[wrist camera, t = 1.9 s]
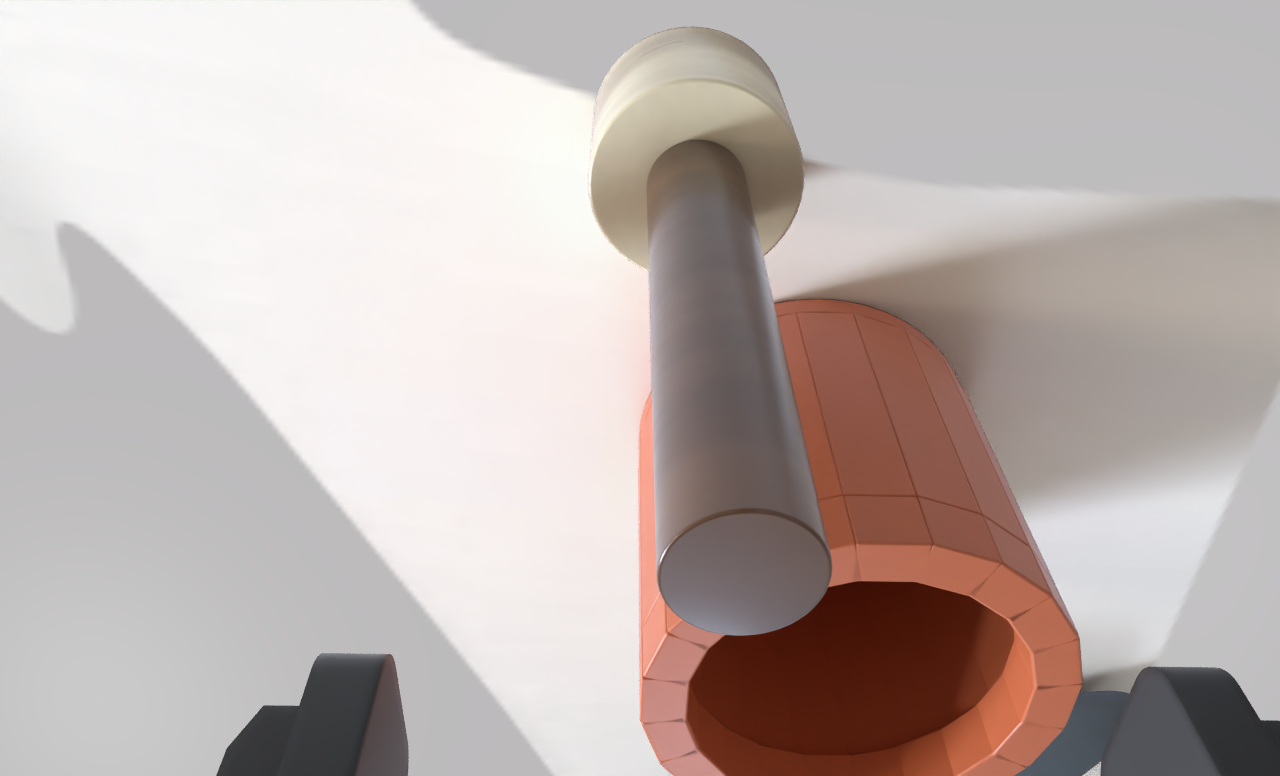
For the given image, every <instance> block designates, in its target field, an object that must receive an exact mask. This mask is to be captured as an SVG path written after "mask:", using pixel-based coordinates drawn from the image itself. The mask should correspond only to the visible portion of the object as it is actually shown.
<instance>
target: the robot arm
mask: <svg viewBox="0 0 1280 776" xmlns="http://www.w3.org/2000/svg"><path fill="white" fill-rule="evenodd" d="M217 776H408V741H407V734H406V728H405V722H404V716H403V709H402V703H401V697H400V691H399V684H398V678H397V672H396V666H395V661H394V658H393V656H392V655H391V654H338V653H337V654H334V653H322V654H320V655H319V656H318V657H317V658H316V660H315V662H314V664H313V666H312V669H311V672H310V675H309V678H308V681H307V684H306V687H305V690H304V693H303V697H302V699H301V703H300V705H299V706H263V707H262V708H261V709H260V710H259V712H258V713H257V714H256V715H255V716H254V718H253V719H252V720H251V721H250V722H249V723H248V724H247V726H246V727H245V728H244V729H243V730H242V731H241V733H240V734H239V735H238V736H237V737H236V738H235V739H234V741H233V742H232V743H231V744H230V745H229V746H228V748H227V750H226V752H225V755H224V757H223V760H222V763H221V765H220V768H219V771H218V773H217ZM1101 776H1280V721H1261V720H1260V719H1259V717H1258V715H1257V714H1256V712H1255V710H1254V709H1253V707H1252V706H1251V704H1250V702H1249V701H1248V699H1247V697H1246V696H1245V695H1244V693H1243V691H1242V689H1241V688H1240V686H1239V685H1238V683H1237V682H1236V680H1235V679H1234V678H1233V677H1232V676H1231V675H1230V674H1229V673H1228V672H1226V671H1225V670H1223V669H1220V668H1202V667H1199V668H1198V667H1147V668H1145V669H1143V670H1142V671H1141V672H1140V673H1139V675H1138V677H1137V678H1136V681H1135V683H1134V685H1133V687H1132V690H1131V692H1130V694H1129V696H1128V699H1127V701H1126V703H1125V705H1124V707H1123V710H1122V712H1121V714H1120V716H1119V719H1118V721H1117V723H1116V725H1115V728H1114V730H1113V732H1112V734H1111V737H1110V739H1109V741H1108V743H1107V745H1106V748H1105V750H1104V753H1103V756H1102V761H1101Z"/></svg>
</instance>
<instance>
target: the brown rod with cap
mask: <svg viewBox="0 0 1280 776" xmlns="http://www.w3.org/2000/svg"><path fill="white" fill-rule="evenodd" d="M803 188H804V164H803V157H802V153H801V149H800V146H799V143H798V140H797V137H796V134H795V132H794V129H793V126H792V123H791V121H790V118H789V115H788V112H787V109H786V107H785V104H784V101H783V98H782V96H781V93H780V90H779V87H778V85H777V82H776V80H775V78H774V76H773V74H772V72H771V70H770V69H769V67H768V66H767V64H766V63H765V62H764V60H763V59H762V58H761V57H760V56H759V55H758V54H757V53H756V52H755V51H754V50H753V49H752V48H750V47H749V46H748V45H746V44H745V43H744V42H742V41H741V40H739V39H737V38H735V37H733V36H731V35H729V34H726V33H724V32H721V31H718V30H713V29H709V28H702V27H679V28H674V29H668V30H665V31H662V32H658V33H655V34H653V35H651V36H649V37H647V38H645V39H643V40H641V41H640V42H638V43H637V44H635V45H633V46H632V47H631V48H630V49H629V50H627V51H626V52H625V53H624V54H623V55H622V56H621V57H620V58H619V59H618V60H617V61H616V62H615V63H614V65H613V66H612V68H611V69H610V70H609V72H608V73H607V75H606V77H605V79H604V81H603V82H602V84H601V87H600V90H599V92H598V95H597V99H596V103H595V108H594V118H593V128H592V139H591V150H590V161H589V172H588V192H589V199H590V204H591V208H592V211H593V214H594V216H595V219H596V222H597V223H598V225H599V227H600V229H601V231H602V233H603V234H604V235H605V237H606V238H607V240H608V241H609V242H610V243H611V245H612V246H613V247H614V248H615V249H616V250H617V251H618V252H619V253H620V254H622V255H623V256H624V257H625V258H627V259H628V260H629V261H631V262H632V263H634V264H635V265H637V266H639V267H640V268H642V269H645V270H647V271H649V304H650V343H651V383H652V422H653V462H654V501H655V541H656V577H657V585H658V589H659V591H660V594H661V596H662V598H663V599H664V601H665V603H666V604H667V606H668V607H669V608H670V609H671V610H672V611H673V612H674V613H675V614H676V615H677V616H678V617H679V618H681V619H682V620H684V621H685V622H687V623H689V624H691V625H693V626H695V627H697V628H699V629H702V630H705V631H708V632H712V633H716V634H723V635H733V636H746V635H756V634H762V633H767V632H771V631H774V630H777V629H780V628H783V627H785V626H788V625H790V624H792V623H794V622H795V621H797V620H799V619H800V618H802V617H803V616H805V615H806V614H808V613H809V612H810V611H811V610H812V609H813V608H814V607H815V606H816V605H817V604H818V603H819V602H820V600H821V599H822V597H823V596H824V594H825V593H826V590H827V588H828V586H829V584H830V580H831V576H832V558H831V553H830V549H829V544H828V540H827V536H826V531H825V527H824V522H823V518H822V513H821V509H820V505H819V500H818V496H817V491H816V487H815V482H814V478H813V474H812V469H811V465H810V460H809V456H808V451H807V447H806V443H805V438H804V434H803V429H802V425H801V420H800V416H799V412H798V407H797V403H796V398H795V394H794V390H793V385H792V381H791V376H790V372H789V367H788V363H787V359H786V354H785V350H784V345H783V341H782V336H781V332H780V328H779V323H778V319H777V314H776V310H775V305H774V301H773V297H772V292H771V288H770V283H769V279H768V274H767V270H766V266H765V261H764V257H763V256H764V255H766V254H767V253H768V252H769V251H770V250H771V249H772V248H773V247H774V246H775V245H776V244H777V243H778V242H779V241H780V239H781V238H782V237H783V236H784V234H785V233H786V231H787V230H788V228H789V227H790V225H791V224H792V222H793V220H794V218H795V216H796V214H797V211H798V208H799V205H800V202H801V198H802V193H803Z"/></svg>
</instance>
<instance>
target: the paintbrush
mask: <svg viewBox="0 0 1280 776" xmlns="http://www.w3.org/2000/svg"><path fill="white" fill-rule="evenodd" d="M1128 696H1129V693H1124V692H1117V691H1096V692H1084V693H1079V695H1078V697H1077V700H1076V702H1075V705H1074V707H1073V710H1072V712H1071V714H1070V717H1069V719H1068V722H1067V724H1066V726H1065V727H1064V729H1063V731H1062V732H1061V733H1060V734H1059V735H1058V736H1057V737H1056V738H1055V739H1054V740H1053V741H1052V742H1051V743H1050V745H1049V746H1048V747H1047V748H1046V749H1045V750H1044V751H1043V752H1042V753H1041V754H1040V755H1039V756H1038V758H1037V759H1036V760H1035V761H1034V762H1033V763H1032V764H1031V765H1030V766H1027V767H1026V768H1025V769H1024V770H1022V771H1021V772H1019V773H1018V774H1016V775H1014V776H1082V775H1083V774H1085V773H1086V772H1087V771H1089V770H1090V769H1091V768H1093V767H1094V766H1095V765H1097V764H1098V763H1099V762H1100V761H1102V756H1103V753H1104V750H1105V748H1106V745H1107V743H1108V741H1109V739H1110V737H1111V734H1112V732H1113V730H1114V728H1115V725H1116V723H1117V721H1118V719H1119V716H1120V714H1121V712H1122V710H1123V707H1124V705H1125V703H1126V701H1127V699H1128Z"/></svg>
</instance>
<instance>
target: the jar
mask: <svg viewBox="0 0 1280 776" xmlns="http://www.w3.org/2000/svg"><path fill="white" fill-rule="evenodd" d="M774 305H775V310H776V314H777V319H778V323H779V328H780V332H781V336H782V341H783V345H784V350H785V354H786V359H787V363H788V367H789V372H790V376H791V381H792V385H793V390H794V394H795V398H796V403H797V407H798V412H799V416H800V420H801V425H802V429H803V434H804V438H805V443H806V447H807V451H808V456H809V460H810V465H811V469H812V474H813V478H814V482H815V487H816V491H817V496H818V500H819V505H820V509H821V513H822V518H823V522H824V527H825V531H826V536H827V540H828V544H829V549H830V553H831V558H832V576H831V580H830V584H829V586H828V588H827V590H826V593H825V594H824V596H823V597H822V599H821V600H820V602H819V603H818V604H817V605H816V606H815V607H814V608H813V609H812V610H811V611H810V612H809V613H808V614H806V615H805V616H803V617H802V618H800V619H799V620H797V621H795V622H794V623H792V624H790V625H788V626H785V627H783V628H780V629H777V630H774V631H771V632H767V633H762V634H756V635H746V636H733V635H723V634H716V633H712V632H708V631H705V630H702V629H699V628H697V627H695V626H693V625H691V624H689V623H687V622H685V621H684V620H682V619H681V618H679V617H678V616H677V615H676V614H675V613H674V612H673V611H672V610H671V609H670V608H669V607H668V606H667V604H666V603H665V601H664V599H663V598H662V596H661V594H660V591H659V589H658V585H657V577H656V541H655V501H654V462H653V422H652V391H651V393H650V395H649V397H648V400H647V402H646V404H645V408H644V411H643V415H642V418H641V424H640V432H639V468H638V495H639V666H640V721H641V724H642V726H643V728H644V730H645V733H646V735H647V737H648V739H649V741H650V743H651V745H652V748H653V750H654V752H655V754H656V756H657V758H658V760H659V762H660V764H661V765H662V766H663V767H664V768H665V769H666V770H667V771H669V772H670V773H671V774H672V775H673V776H1014V775H1016V774H1018V773H1019V772H1021V771H1022V770H1024V769H1025V768H1026V767H1027V766H1030V765H1031V764H1032V763H1033V762H1034V761H1035V760H1036V759H1037V758H1038V756H1039V755H1040V754H1041V753H1042V752H1043V751H1044V750H1045V749H1046V748H1047V747H1048V746H1049V745H1050V743H1051V742H1052V741H1053V740H1054V739H1055V738H1056V737H1057V736H1058V735H1059V734H1060V733H1061V732H1062V731H1063V729H1064V727H1065V726H1066V724H1067V722H1068V719H1069V717H1070V714H1071V712H1072V710H1073V707H1074V705H1075V702H1076V700H1077V697H1078V695H1079V693H1080V690H1081V688H1082V681H1083V677H1082V663H1081V650H1080V638H1079V636H1078V632H1077V630H1076V628H1075V626H1074V624H1073V621H1072V619H1071V617H1070V615H1069V613H1068V611H1067V609H1066V606H1065V604H1064V602H1063V600H1062V598H1061V596H1060V594H1059V591H1058V589H1057V588H1056V586H1055V583H1054V581H1053V579H1052V576H1051V574H1050V572H1049V570H1048V568H1047V566H1046V564H1045V561H1044V559H1043V557H1042V555H1041V553H1040V551H1039V549H1038V546H1037V544H1036V542H1035V540H1034V538H1033V536H1032V534H1031V531H1030V529H1029V527H1028V525H1027V523H1026V521H1025V519H1024V516H1023V514H1022V512H1021V510H1020V508H1019V506H1018V504H1017V501H1016V499H1015V497H1014V495H1013V493H1012V491H1011V489H1010V487H1009V484H1008V482H1007V480H1006V478H1005V476H1004V474H1003V472H1002V469H1001V467H1000V465H999V463H998V461H997V459H996V457H995V454H994V452H993V450H992V448H991V446H990V444H989V442H988V439H987V437H986V435H985V433H984V431H983V429H982V427H981V424H980V422H979V420H978V418H977V416H976V414H975V412H974V409H973V407H972V405H971V403H970V401H969V399H968V397H967V395H966V393H965V391H964V390H963V388H962V387H961V385H960V383H959V381H958V379H957V377H956V375H955V373H954V371H953V370H952V368H951V366H950V364H949V362H948V360H947V359H946V358H945V357H944V355H943V354H942V353H941V352H940V350H939V349H938V348H937V347H936V345H934V344H933V343H932V342H931V341H930V340H929V339H928V338H927V337H926V336H925V335H924V334H922V333H921V332H920V331H918V330H917V329H915V328H914V327H912V326H911V325H909V324H908V323H906V322H905V321H903V320H901V319H899V318H897V317H894V316H892V315H890V314H888V313H886V312H883V311H880V310H877V309H874V308H871V307H868V306H865V305H861V304H856V303H851V302H846V301H836V300H824V299H814V300H795V301H788V302H782V303H775V304H774Z"/></svg>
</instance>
